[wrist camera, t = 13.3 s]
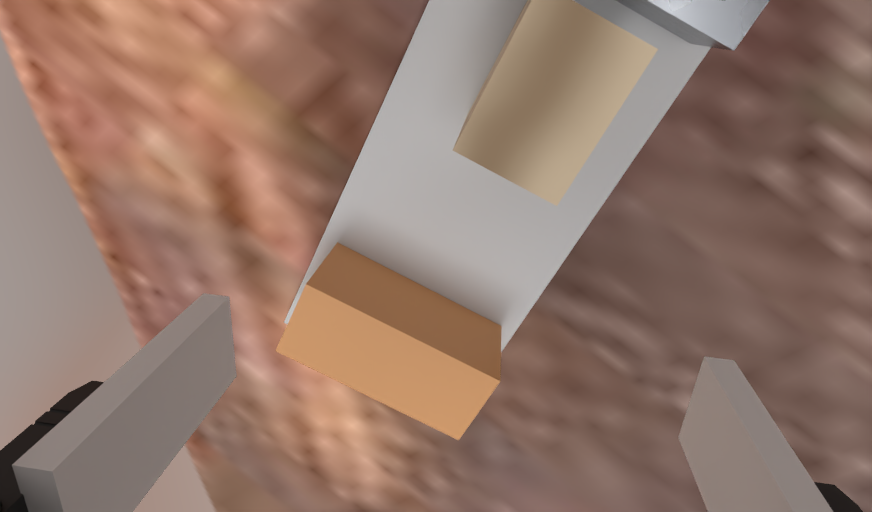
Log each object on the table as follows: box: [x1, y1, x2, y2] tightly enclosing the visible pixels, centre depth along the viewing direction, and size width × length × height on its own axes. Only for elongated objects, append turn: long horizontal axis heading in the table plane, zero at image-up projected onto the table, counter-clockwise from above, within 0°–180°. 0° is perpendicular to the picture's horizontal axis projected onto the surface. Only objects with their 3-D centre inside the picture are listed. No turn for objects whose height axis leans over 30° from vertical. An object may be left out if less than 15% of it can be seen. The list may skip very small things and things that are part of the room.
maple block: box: [453, 0, 658, 206], centre depth 26 cm, size 5×7×9 cm
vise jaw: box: [276, 242, 502, 440], centre depth 34 cm, size 12×5×6 cm, turn 63°
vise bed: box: [284, 0, 770, 352], centre depth 31 cm, size 14×30×8 cm, turn 153°
